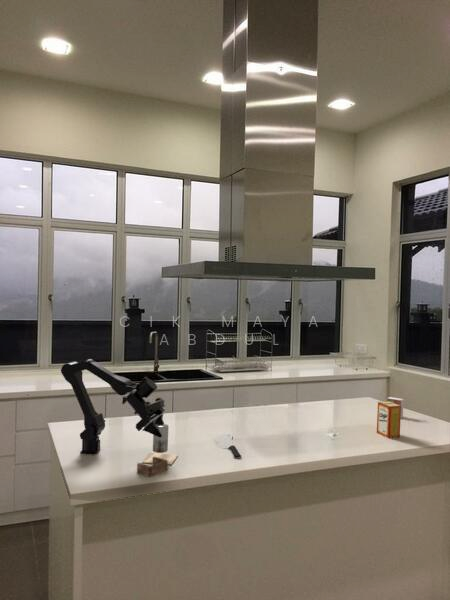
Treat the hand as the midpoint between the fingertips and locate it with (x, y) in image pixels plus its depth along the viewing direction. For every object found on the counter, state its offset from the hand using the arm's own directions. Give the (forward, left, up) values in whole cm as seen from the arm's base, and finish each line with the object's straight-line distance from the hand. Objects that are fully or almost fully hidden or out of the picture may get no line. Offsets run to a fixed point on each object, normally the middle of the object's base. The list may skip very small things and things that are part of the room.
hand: (163, 434), depth 199 cm
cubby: (-1, -12, -10) cm, 16 cm away
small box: (+111, +96, -11) cm, 147 cm away
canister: (-1, 0, -7) cm, 7 cm away
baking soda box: (+100, +58, -11) cm, 116 cm away
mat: (-1, 0, -10) cm, 10 cm away
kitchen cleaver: (+23, +23, -11) cm, 34 cm away
